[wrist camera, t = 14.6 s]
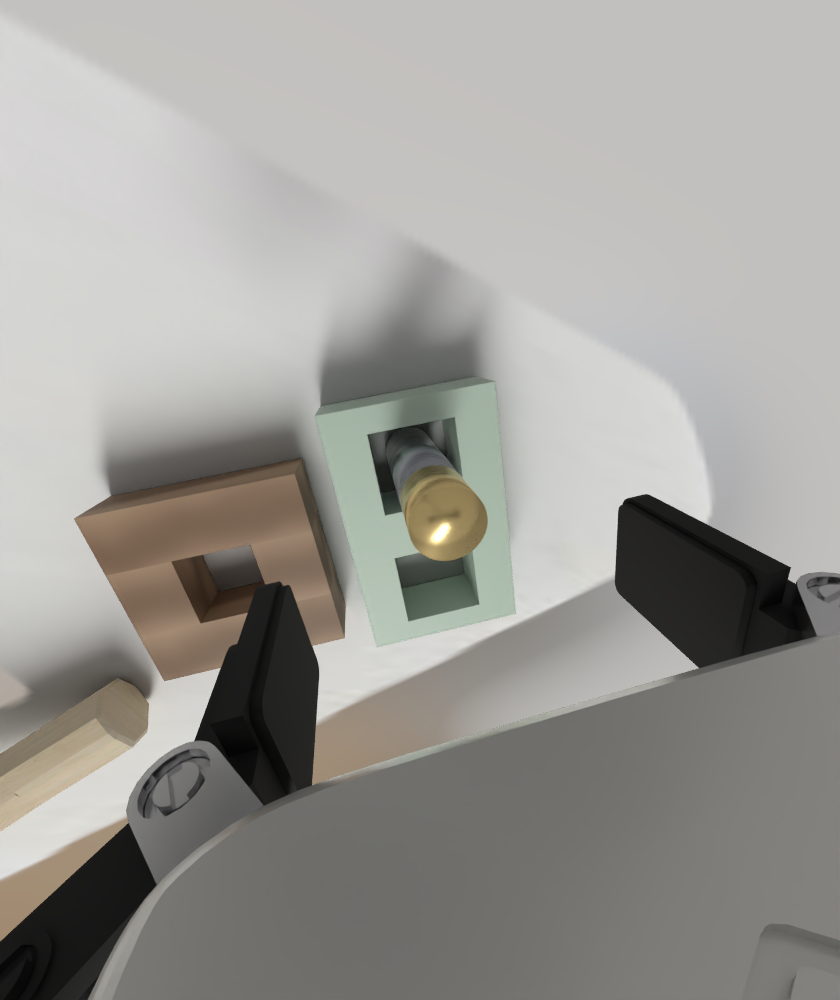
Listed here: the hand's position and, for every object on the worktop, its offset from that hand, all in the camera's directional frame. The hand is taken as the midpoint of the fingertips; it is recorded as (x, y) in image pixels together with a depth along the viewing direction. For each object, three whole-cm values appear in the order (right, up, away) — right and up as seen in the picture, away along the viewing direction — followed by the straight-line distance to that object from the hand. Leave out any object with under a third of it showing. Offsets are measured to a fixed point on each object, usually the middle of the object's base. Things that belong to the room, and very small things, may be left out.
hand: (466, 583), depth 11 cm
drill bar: (-2, +6, +16) cm, 17 cm away
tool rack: (-1, +2, +17) cm, 17 cm away
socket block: (-14, -2, +17) cm, 22 cm away
